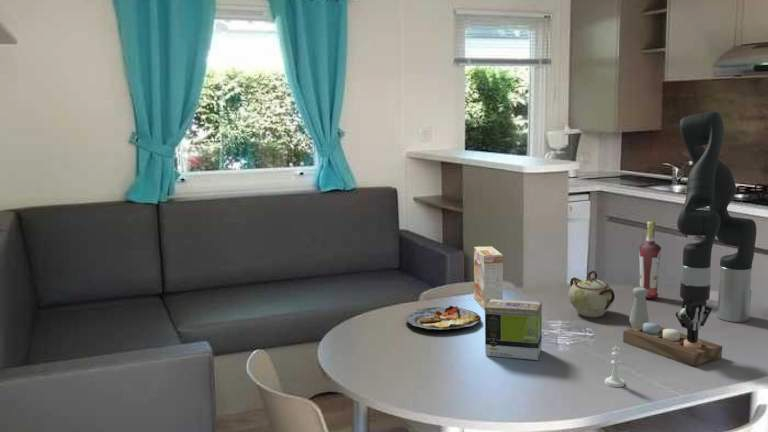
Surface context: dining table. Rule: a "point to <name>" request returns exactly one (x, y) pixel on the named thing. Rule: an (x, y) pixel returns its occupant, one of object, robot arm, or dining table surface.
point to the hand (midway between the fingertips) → (692, 341)
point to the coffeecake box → (487, 275)
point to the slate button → (651, 328)
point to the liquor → (649, 263)
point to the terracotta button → (693, 344)
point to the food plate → (442, 318)
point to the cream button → (671, 335)
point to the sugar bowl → (590, 296)
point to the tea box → (513, 328)
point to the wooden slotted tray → (673, 347)
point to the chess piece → (615, 371)
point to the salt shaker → (639, 308)
